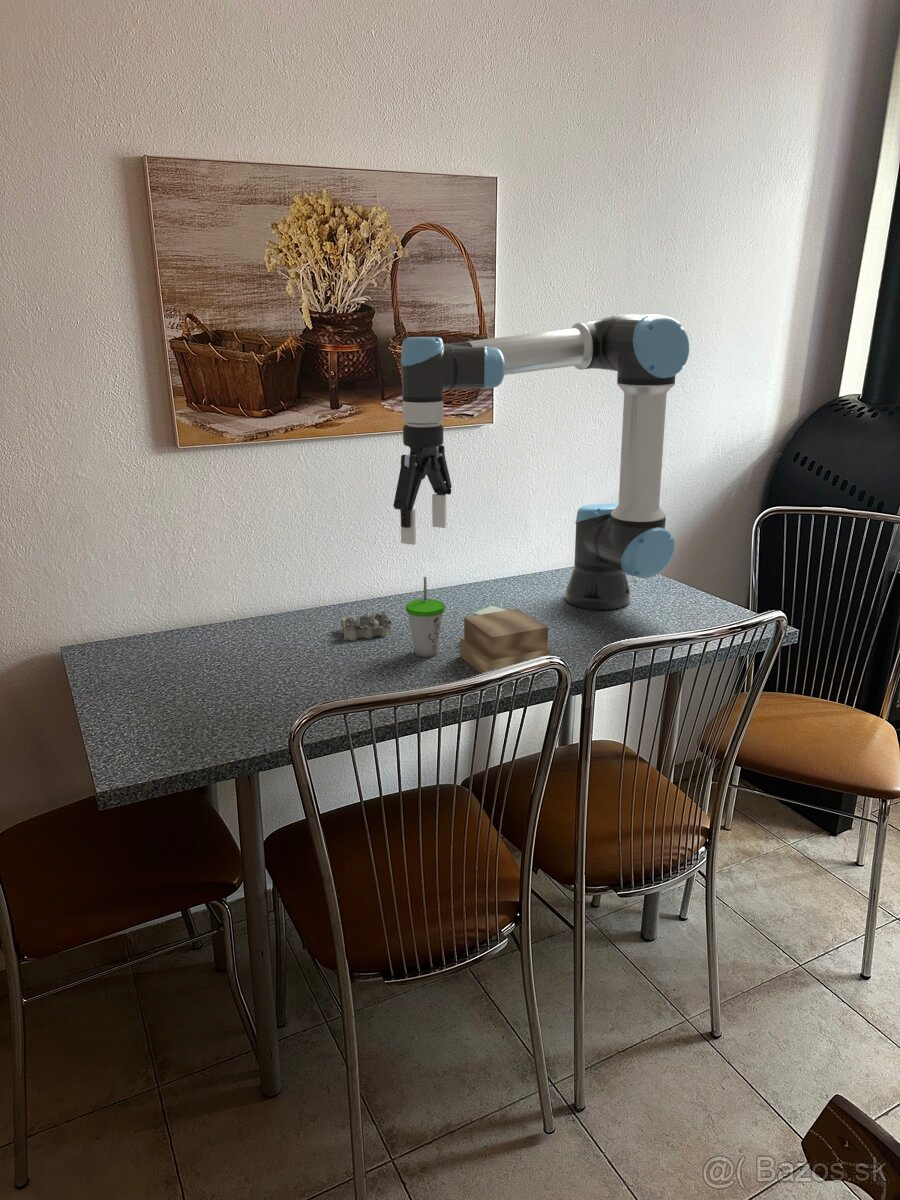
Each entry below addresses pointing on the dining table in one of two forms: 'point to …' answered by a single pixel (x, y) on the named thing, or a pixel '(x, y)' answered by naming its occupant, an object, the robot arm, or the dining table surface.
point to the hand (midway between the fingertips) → (424, 535)
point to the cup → (425, 624)
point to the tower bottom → (487, 664)
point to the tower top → (505, 633)
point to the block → (488, 610)
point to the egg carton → (365, 626)
